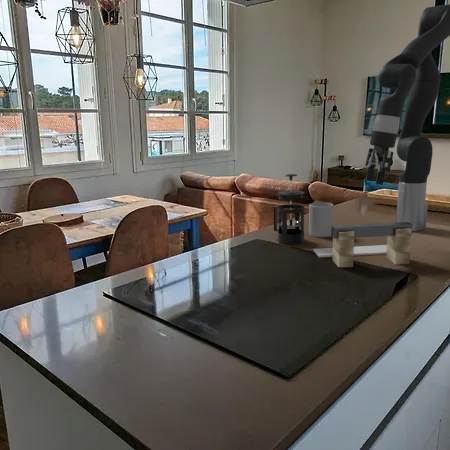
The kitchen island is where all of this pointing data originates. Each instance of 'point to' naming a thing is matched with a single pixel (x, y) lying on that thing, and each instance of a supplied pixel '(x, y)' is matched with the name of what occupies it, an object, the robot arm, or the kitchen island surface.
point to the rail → (370, 229)
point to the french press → (291, 234)
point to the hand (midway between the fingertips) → (373, 182)
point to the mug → (320, 219)
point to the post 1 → (344, 249)
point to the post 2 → (399, 246)
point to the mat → (357, 251)
